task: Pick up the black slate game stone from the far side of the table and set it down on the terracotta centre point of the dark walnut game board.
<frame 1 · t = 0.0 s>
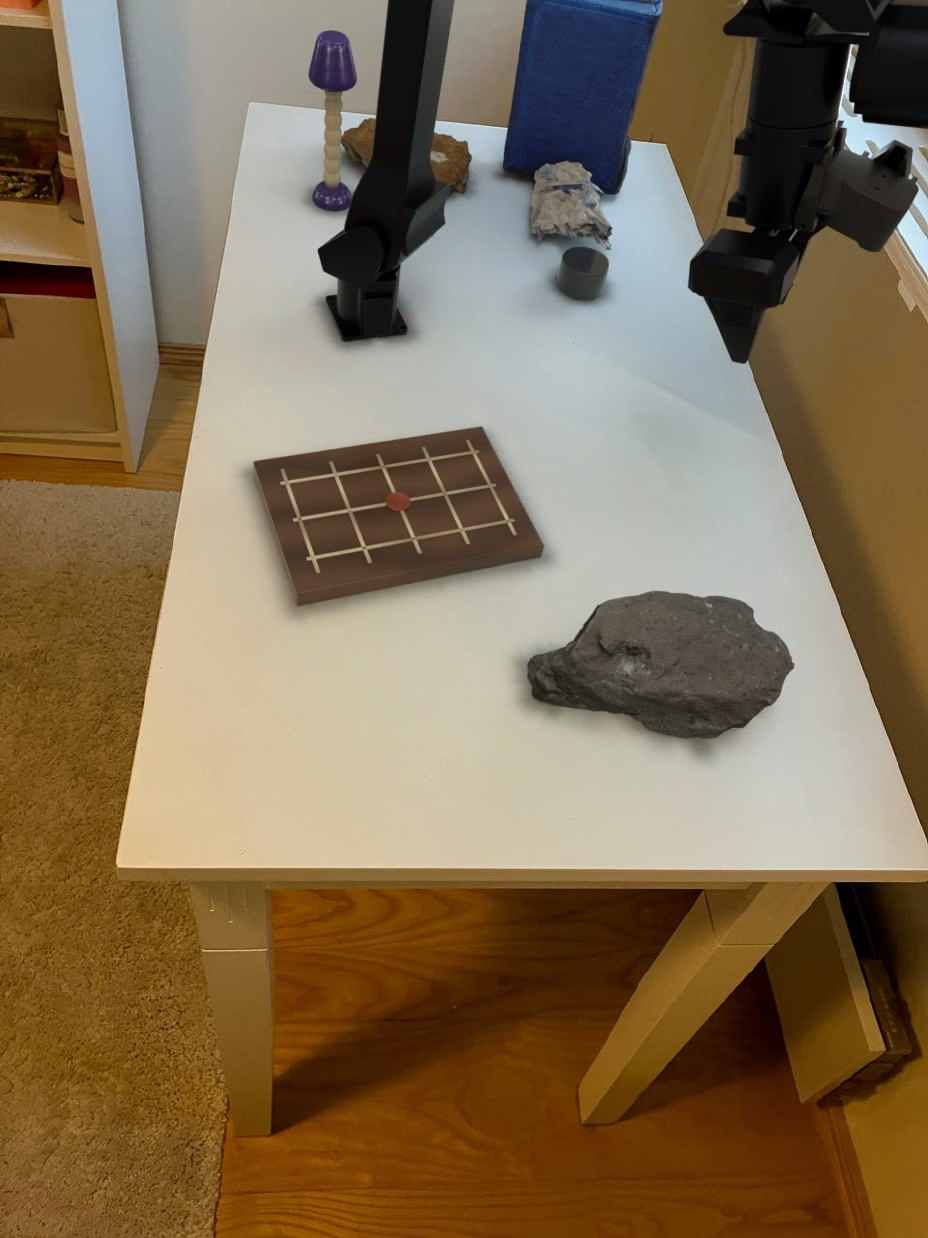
hand: (758, 331, 73), 15 cm above the table, tool pointing down, fingers open, 9 cm apart
book: (560, 182, 112), on the table, touching mineral specimen
game board: (396, 515, 78), on the table
toy lamp: (329, 203, 104), on the table
stone: (648, 695, 71), on the table
mineral specimen: (565, 223, 107), on the table, touching book
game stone: (579, 285, 101), on the table
decorative rock: (403, 172, 109), on the table
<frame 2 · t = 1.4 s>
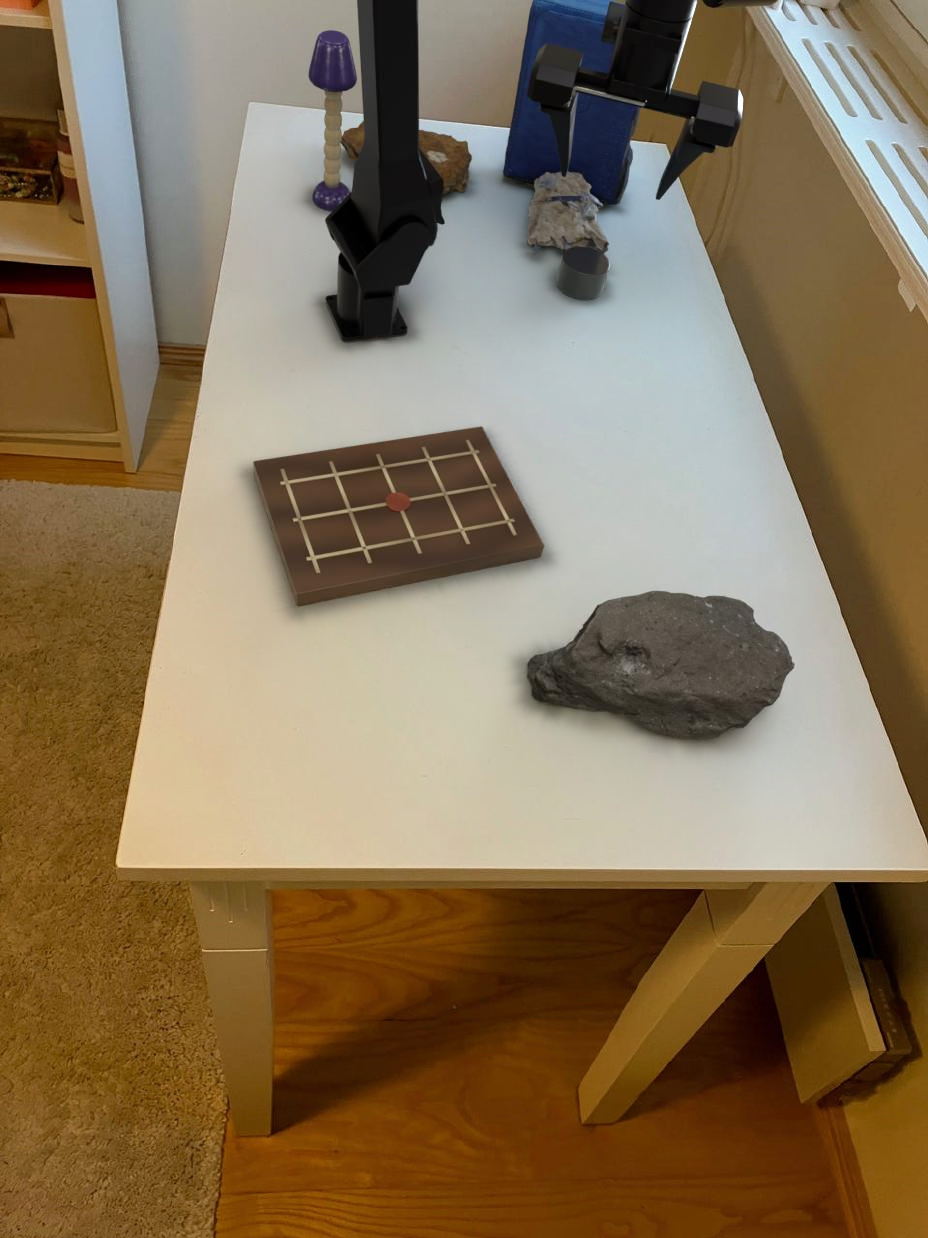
hand: (611, 185, 92), 11 cm above the table, tool pointing down, fingers open, 9 cm apart
book: (561, 190, 112), on the table, touching mineral specimen
mineral specimen: (563, 234, 106), on the table, touching book
everything else where it was.
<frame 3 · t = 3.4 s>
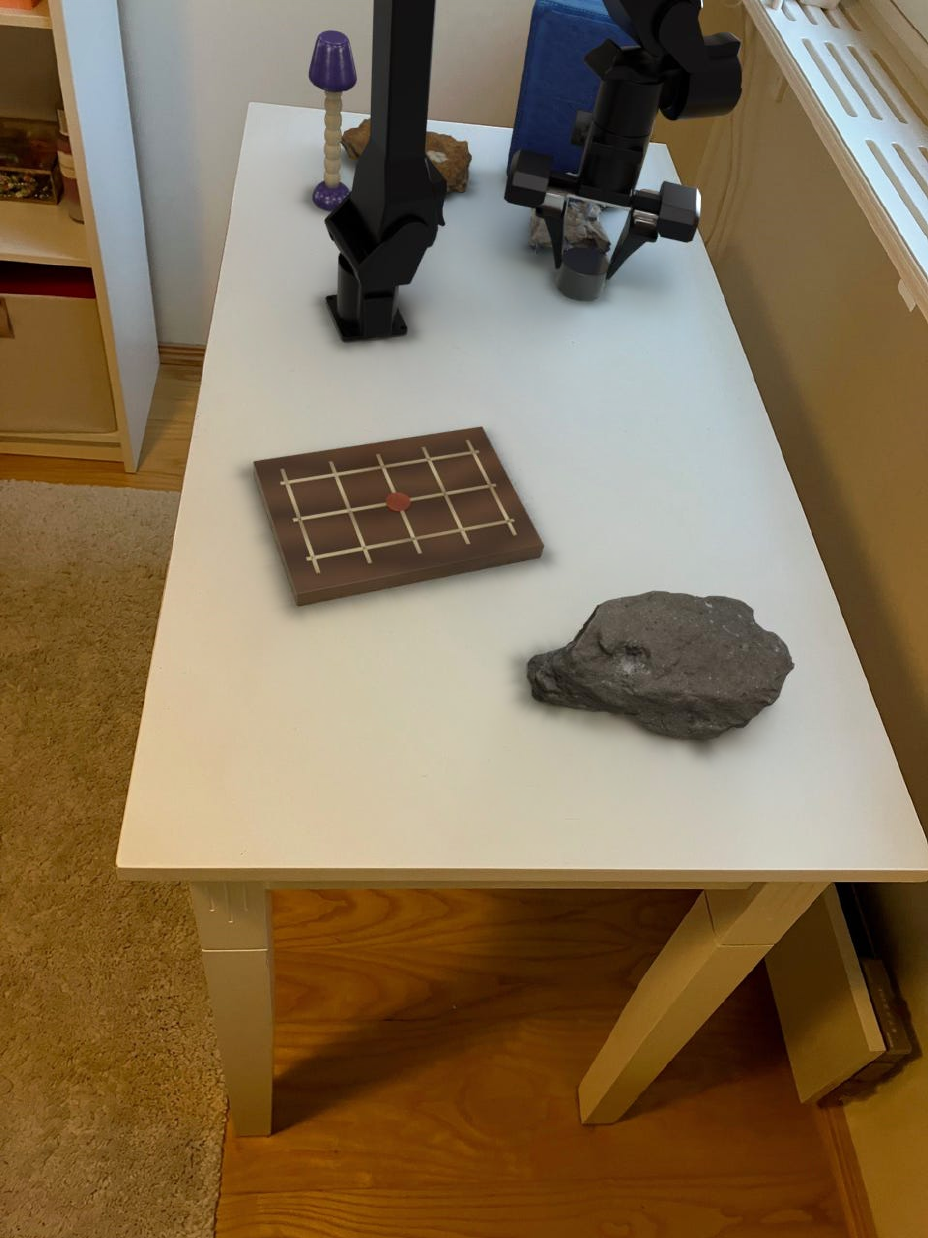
hand: (582, 272, 100), 1 cm above the table, tool pointing down, fingers closed on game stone, 5 cm apart
book: (564, 191, 111), on the table, touching mineral specimen
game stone: (578, 286, 100), on the table, touching gripper
everything else where it was.
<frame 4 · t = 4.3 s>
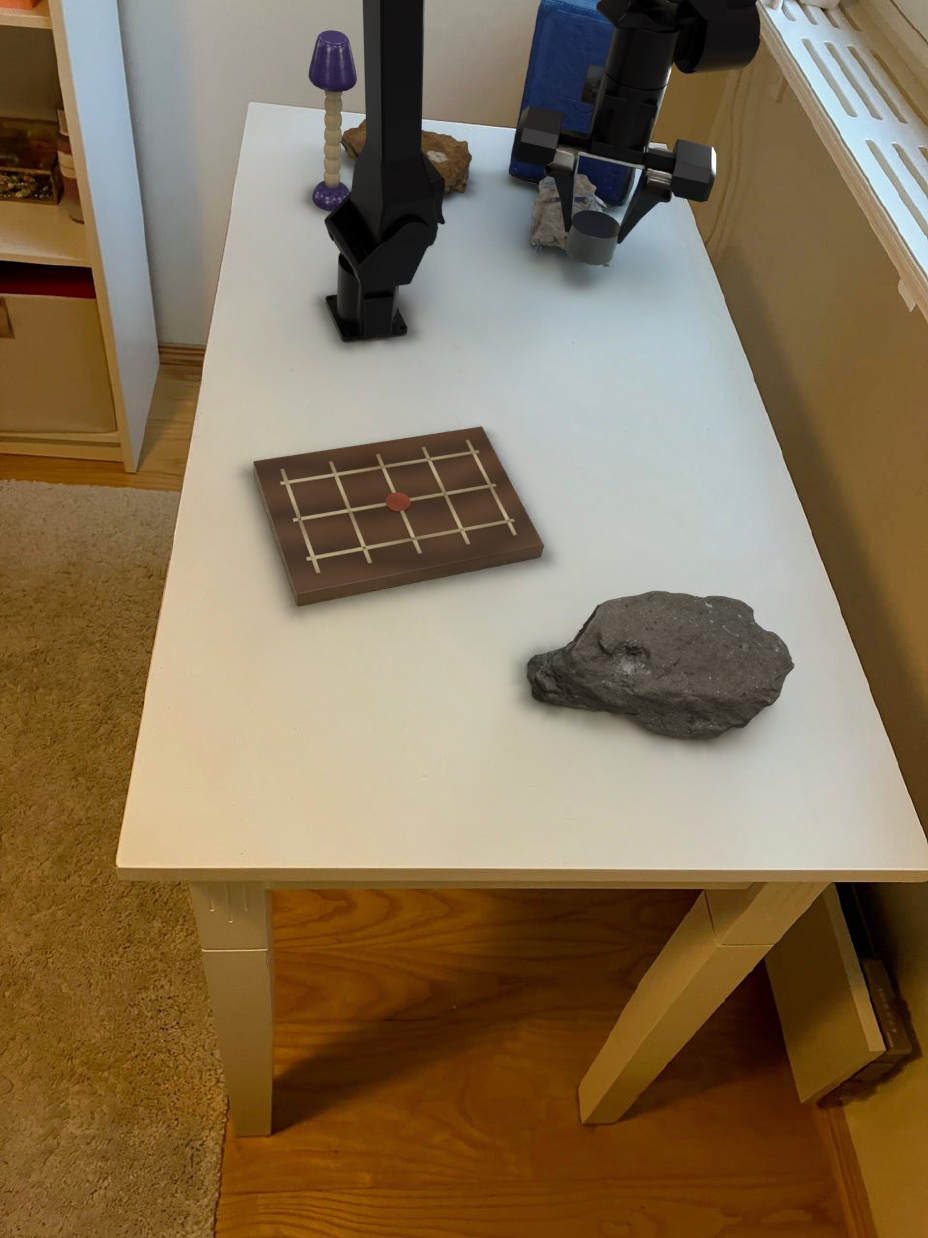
hand: (592, 235, 97), 5 cm above the table, tool pointing down, fingers closed on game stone, 5 cm apart
mineral specimen: (566, 235, 106), on the table, touching book
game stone: (588, 251, 97), point 4 cm above the table, touching gripper
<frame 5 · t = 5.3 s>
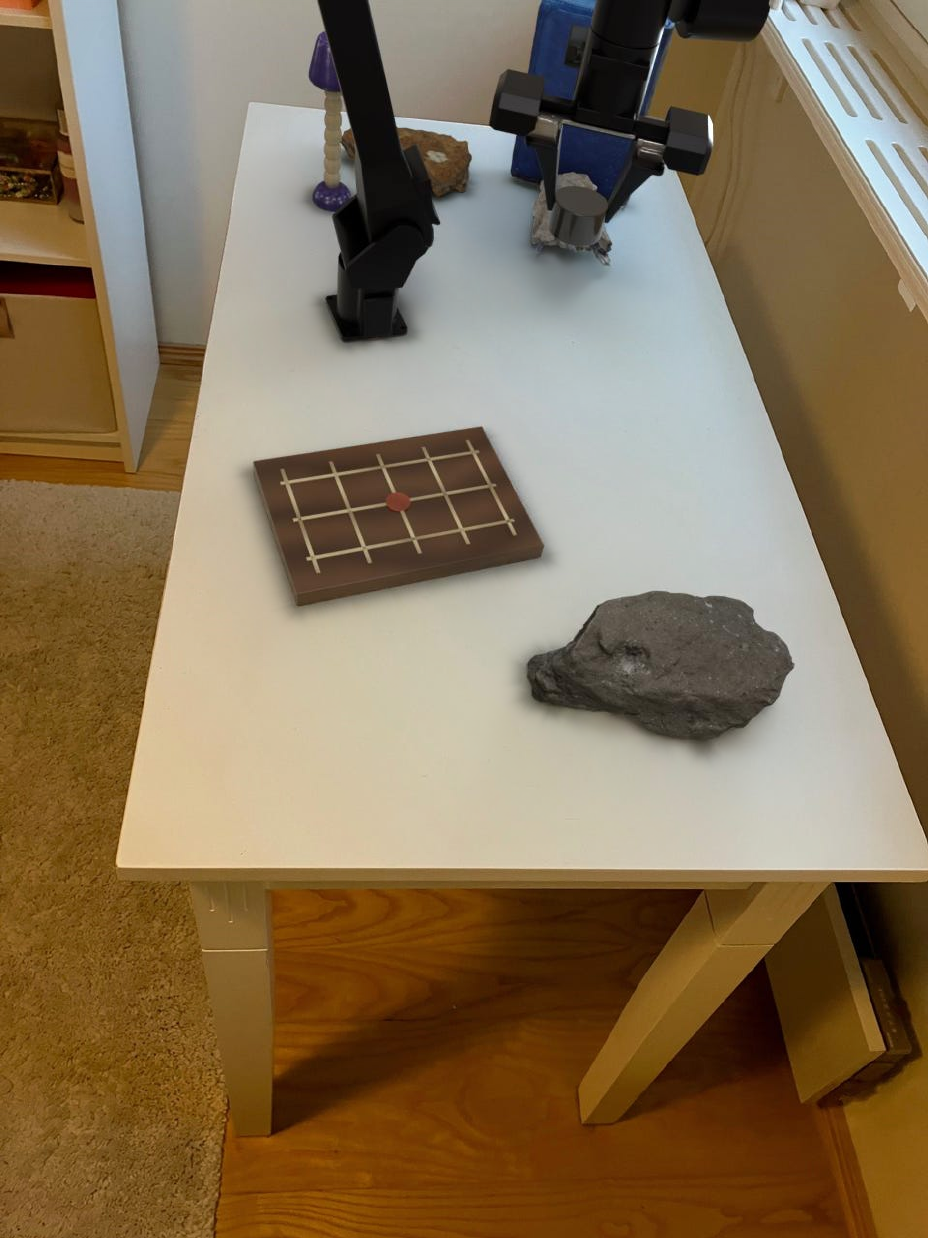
hand: (578, 214, 88), 11 cm above the table, tool pointing down, fingers closed on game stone, 5 cm apart
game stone: (574, 230, 89), point 10 cm above the table, touching gripper
everything else where it was.
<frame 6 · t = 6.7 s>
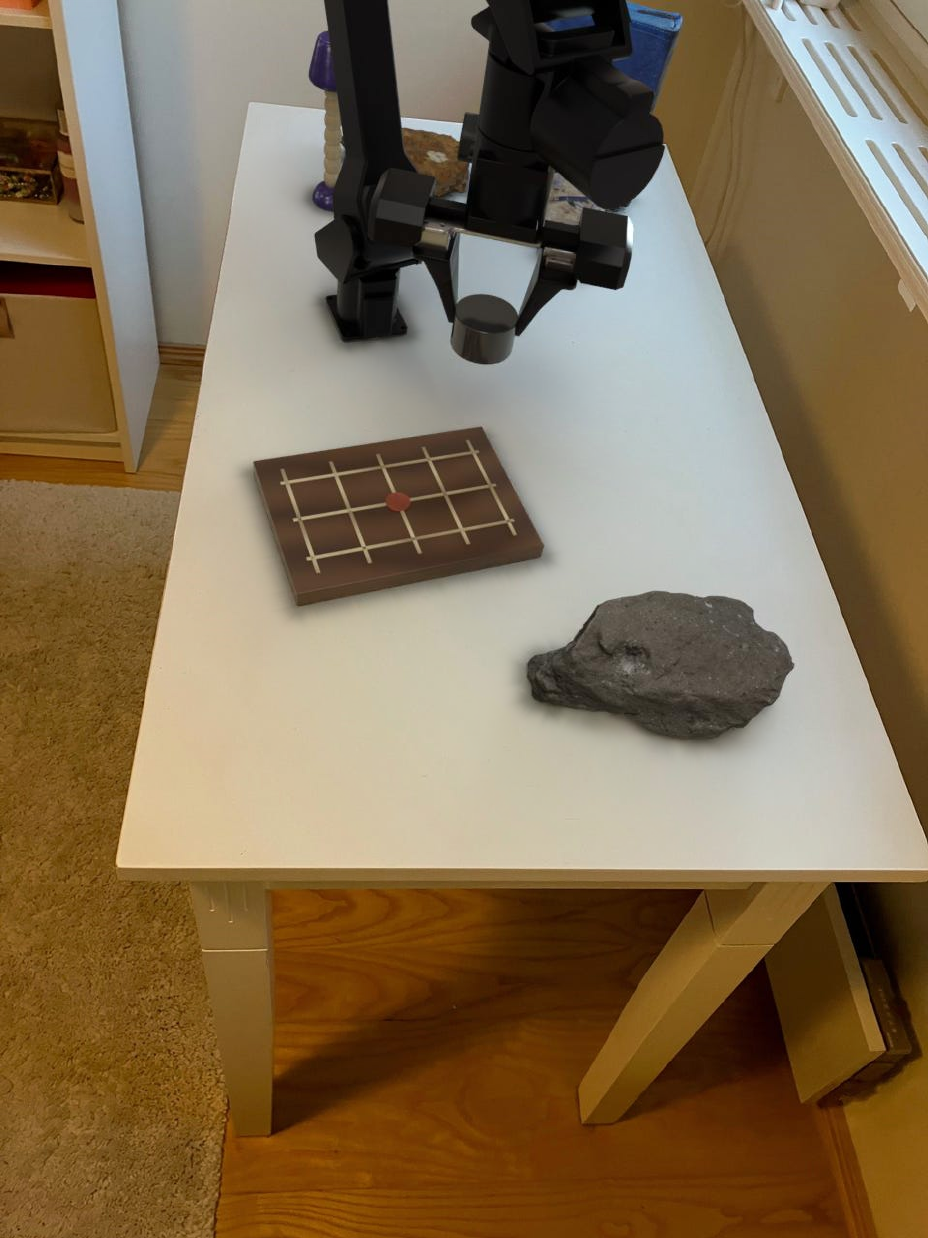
hand: (484, 326, 76), 11 cm above the table, tool pointing down, fingers closed on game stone, 5 cm apart
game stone: (481, 344, 77), point 10 cm above the table, touching gripper
when the fingers open (3 cm above the table, at t = 10.0 s): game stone stays where it is, resting on game board.
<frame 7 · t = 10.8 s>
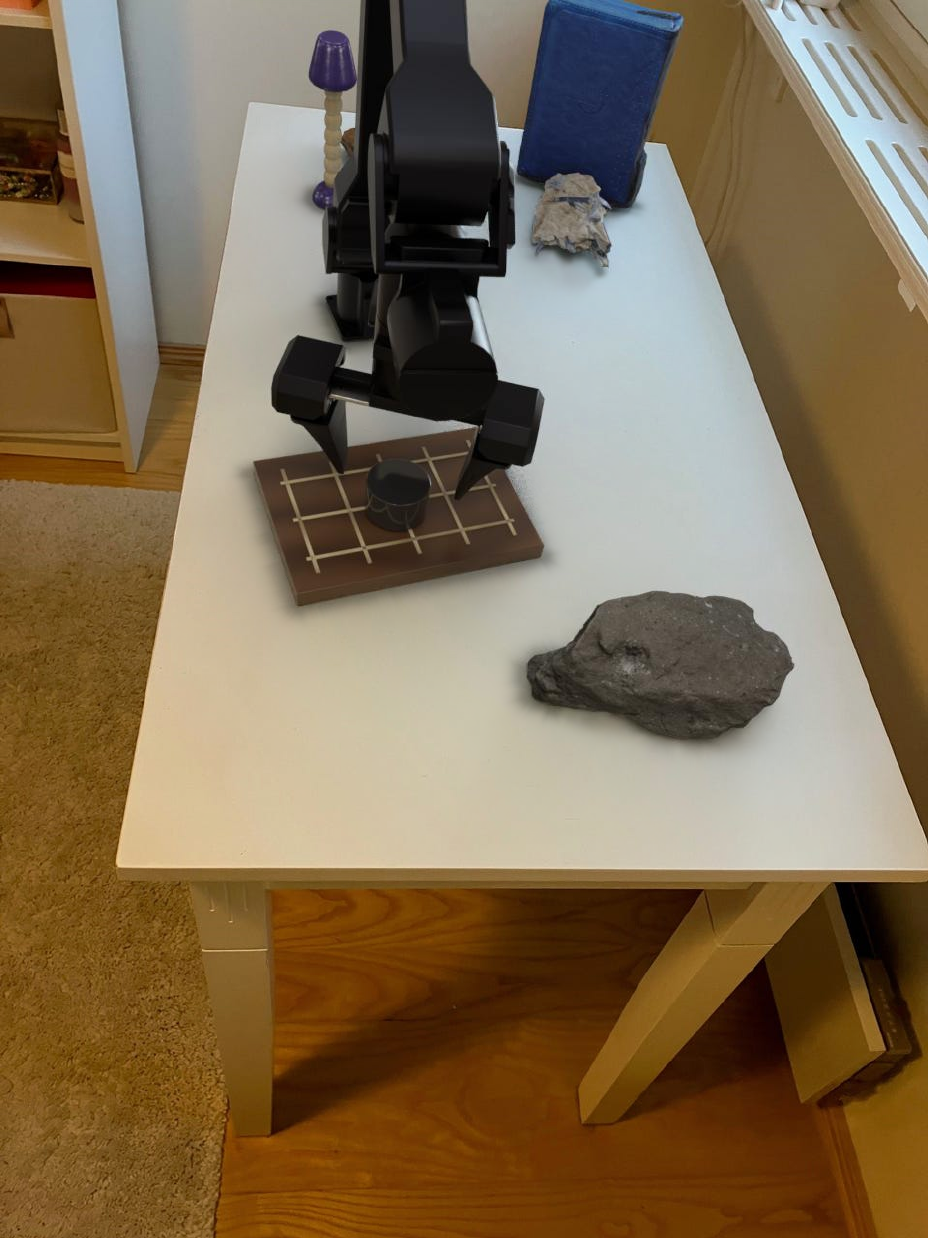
hand: (400, 482, 75), 4 cm above the table, tool pointing down, fingers open, 9 cm apart
mineral specimen: (569, 235, 106), on the table, touching book
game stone: (395, 507, 76), point 2 cm above the table, touching game board
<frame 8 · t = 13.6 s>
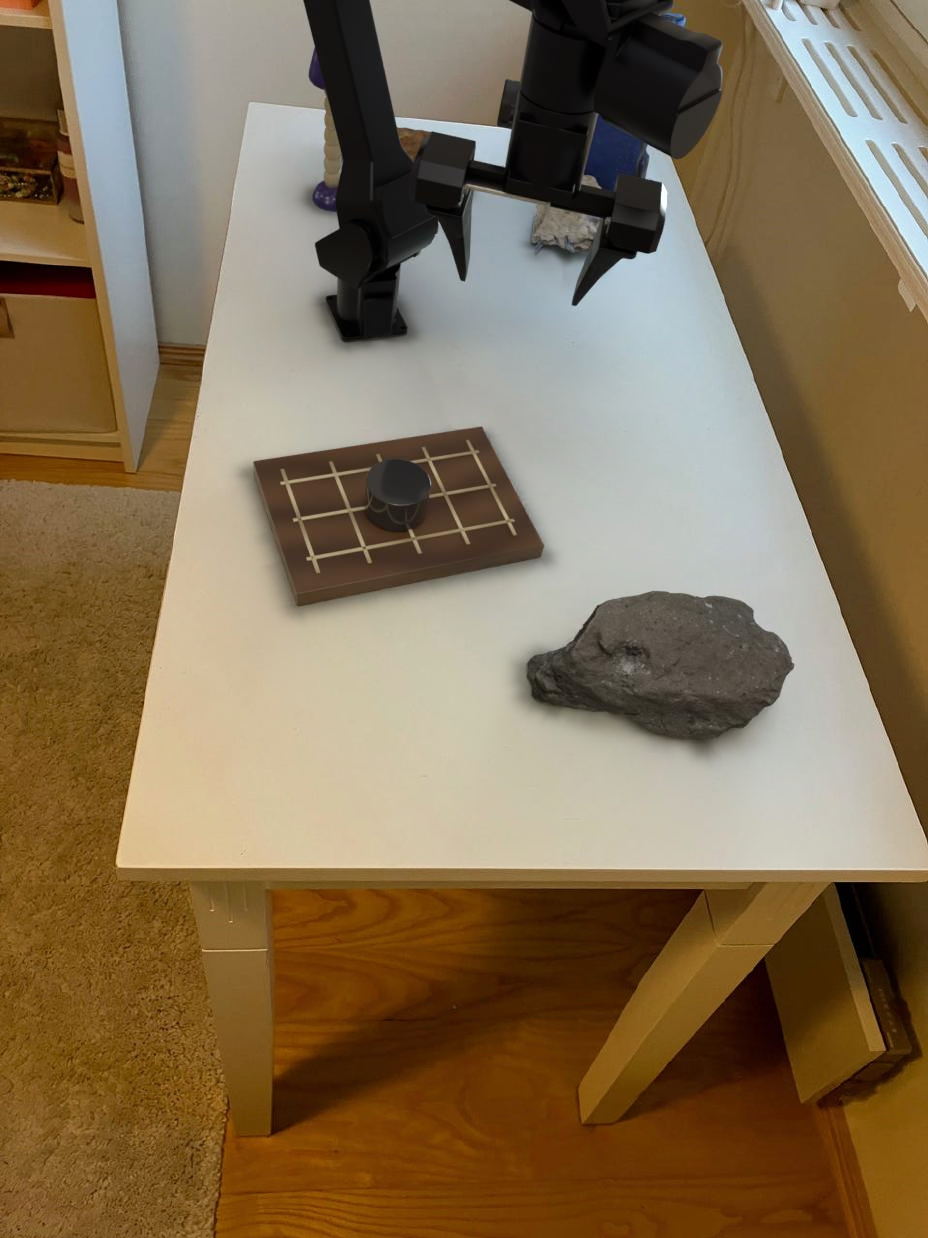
hand: (518, 290, 78), 12 cm above the table, tool pointing down, fingers open, 9 cm apart
at the end: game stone 0.7 cm off-centre on the game board, point 1.6 cm above the game board's base; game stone tilted 0°; the gripper is holding nothing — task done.
